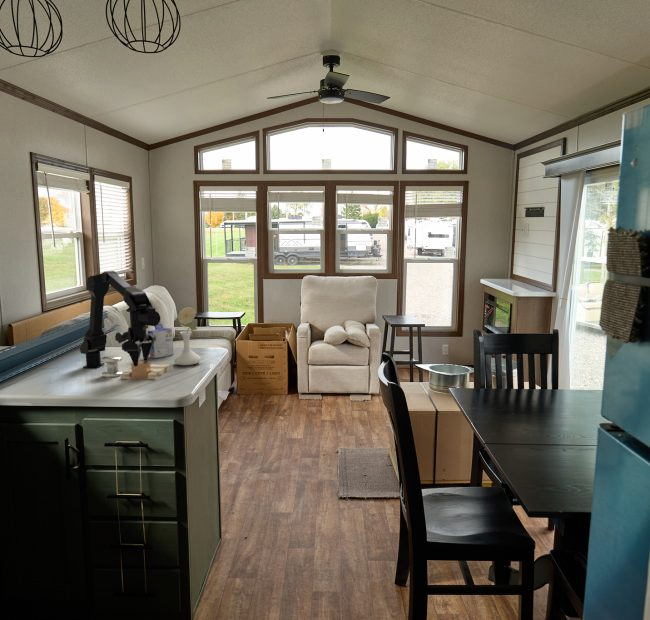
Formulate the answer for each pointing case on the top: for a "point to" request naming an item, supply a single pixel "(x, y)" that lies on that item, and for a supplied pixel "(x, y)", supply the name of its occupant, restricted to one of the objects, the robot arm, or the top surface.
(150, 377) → the notched board
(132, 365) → the wooden block
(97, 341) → the robot arm
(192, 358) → the flower in vase
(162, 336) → the ink cartridge box
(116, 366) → the bobbin
